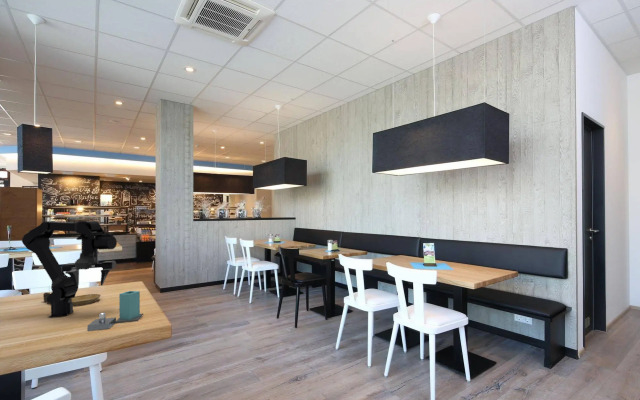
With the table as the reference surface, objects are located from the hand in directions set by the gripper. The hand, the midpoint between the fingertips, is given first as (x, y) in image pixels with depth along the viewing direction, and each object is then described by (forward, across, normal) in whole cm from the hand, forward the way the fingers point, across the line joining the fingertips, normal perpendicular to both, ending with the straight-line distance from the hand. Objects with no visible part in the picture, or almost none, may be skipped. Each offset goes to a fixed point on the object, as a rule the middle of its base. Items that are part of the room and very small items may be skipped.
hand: (89, 286), depth 137 cm
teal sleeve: (+11, +19, -13) cm, 26 cm away
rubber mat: (+12, +19, -13) cm, 26 cm away
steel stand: (+12, +12, -20) cm, 26 cm away
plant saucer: (+12, -12, +24) cm, 30 cm away
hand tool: (+12, -27, +28) cm, 41 cm away
